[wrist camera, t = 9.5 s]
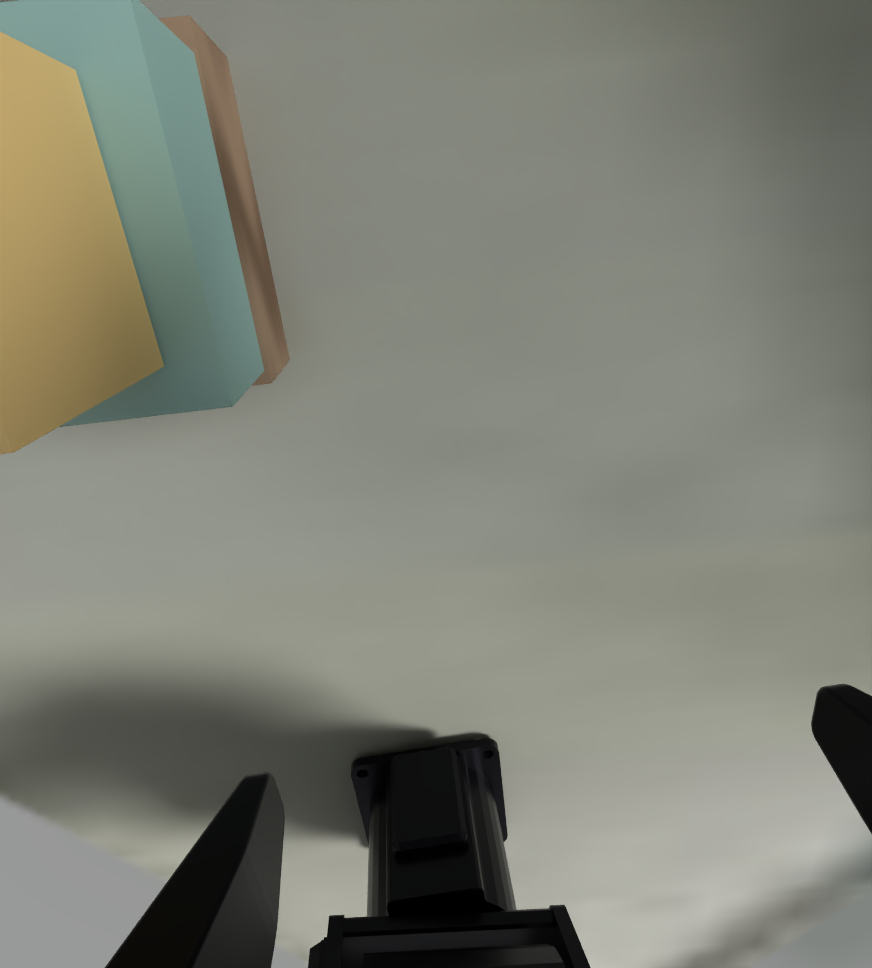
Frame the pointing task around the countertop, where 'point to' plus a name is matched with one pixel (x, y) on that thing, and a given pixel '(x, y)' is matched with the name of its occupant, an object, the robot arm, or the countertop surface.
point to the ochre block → (60, 258)
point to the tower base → (238, 192)
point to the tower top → (157, 197)
